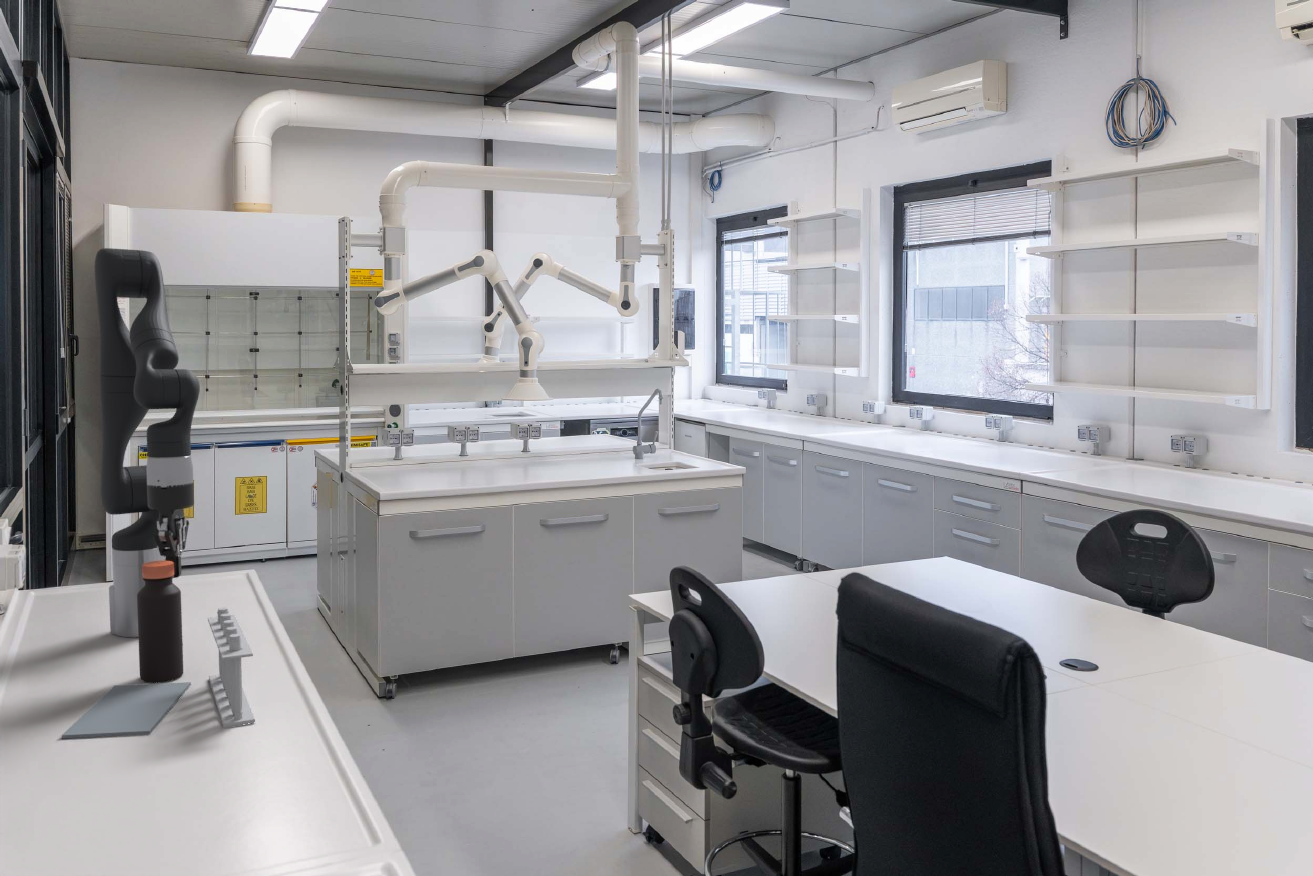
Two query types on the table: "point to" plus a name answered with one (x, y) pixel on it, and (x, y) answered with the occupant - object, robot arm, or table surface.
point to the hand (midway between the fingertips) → (173, 576)
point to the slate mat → (128, 710)
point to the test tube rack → (230, 670)
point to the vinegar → (159, 624)
